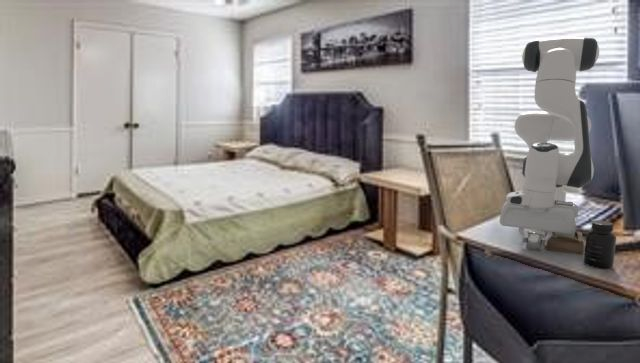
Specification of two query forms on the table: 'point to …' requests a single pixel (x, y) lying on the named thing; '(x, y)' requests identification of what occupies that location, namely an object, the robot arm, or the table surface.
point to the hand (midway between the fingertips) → (533, 243)
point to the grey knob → (534, 240)
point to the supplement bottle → (600, 245)
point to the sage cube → (565, 234)
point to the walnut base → (566, 243)
